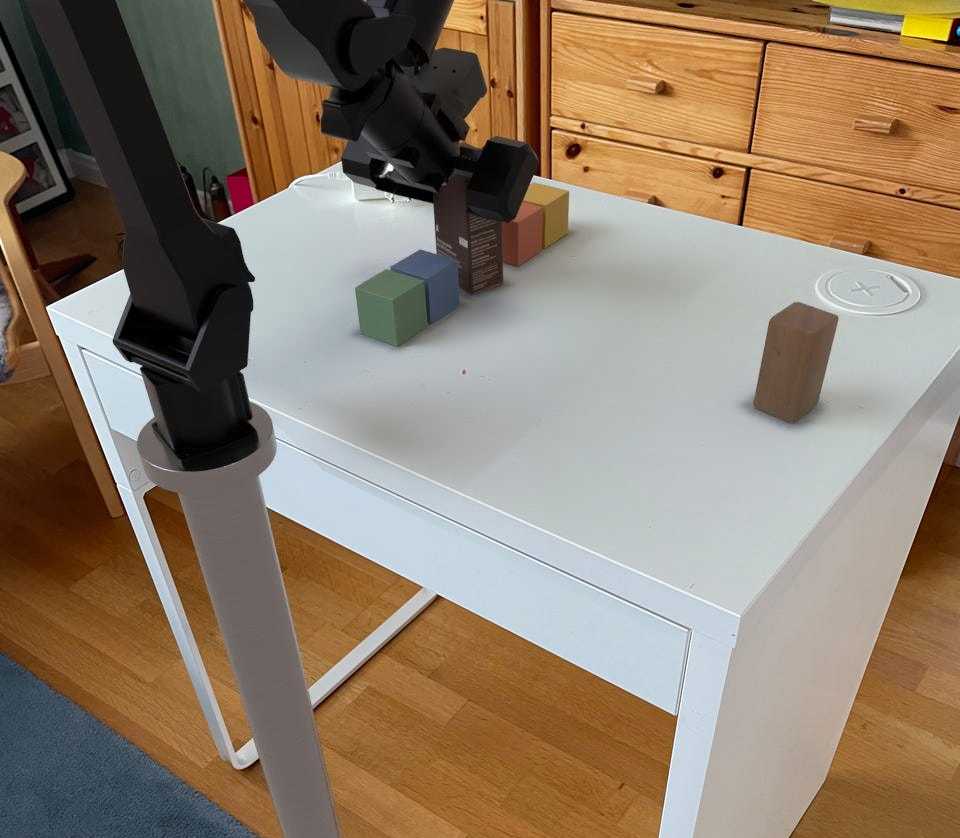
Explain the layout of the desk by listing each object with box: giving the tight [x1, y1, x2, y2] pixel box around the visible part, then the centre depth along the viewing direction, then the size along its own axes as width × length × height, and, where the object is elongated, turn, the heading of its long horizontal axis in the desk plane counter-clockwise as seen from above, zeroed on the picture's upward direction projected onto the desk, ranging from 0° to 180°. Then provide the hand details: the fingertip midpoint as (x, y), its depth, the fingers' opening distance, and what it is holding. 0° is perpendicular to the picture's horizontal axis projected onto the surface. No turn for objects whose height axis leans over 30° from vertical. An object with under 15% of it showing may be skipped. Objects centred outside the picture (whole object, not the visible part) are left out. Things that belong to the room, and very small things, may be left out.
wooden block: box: [752, 301, 840, 424], centre depth 78 cm, size 4×4×8 cm
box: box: [432, 141, 504, 295], centre depth 94 cm, size 6×4×12 cm
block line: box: [354, 181, 570, 347], centre depth 97 cm, size 29×4×4 cm, turn 144°
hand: (476, 209), depth 94 cm, fingers closed on box, 7 cm apart
